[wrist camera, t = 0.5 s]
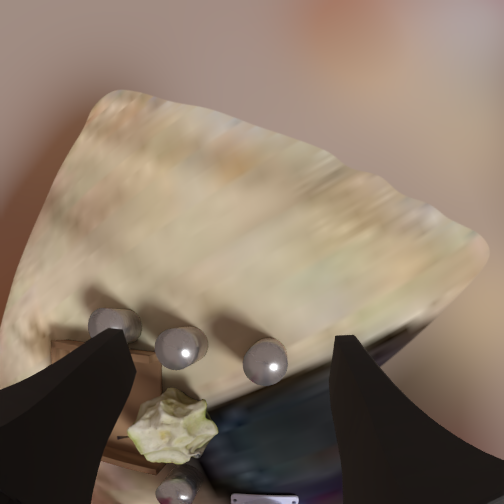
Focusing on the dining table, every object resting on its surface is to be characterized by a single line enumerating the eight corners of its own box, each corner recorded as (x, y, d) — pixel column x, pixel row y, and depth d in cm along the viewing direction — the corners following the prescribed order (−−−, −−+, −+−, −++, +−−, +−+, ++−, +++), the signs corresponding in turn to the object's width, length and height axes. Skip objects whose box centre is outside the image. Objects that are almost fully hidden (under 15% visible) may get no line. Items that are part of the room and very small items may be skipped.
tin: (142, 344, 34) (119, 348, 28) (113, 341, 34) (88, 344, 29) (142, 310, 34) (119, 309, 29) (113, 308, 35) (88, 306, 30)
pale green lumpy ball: (144, 438, 32) (108, 452, 24) (162, 373, 34) (127, 375, 27) (211, 469, 30) (187, 493, 22) (234, 401, 32) (214, 413, 25)
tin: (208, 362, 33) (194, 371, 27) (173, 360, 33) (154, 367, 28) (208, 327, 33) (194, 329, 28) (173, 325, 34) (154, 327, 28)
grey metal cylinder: (286, 374, 32) (287, 385, 26) (249, 373, 32) (242, 384, 27) (287, 337, 32) (287, 342, 27) (249, 337, 33) (243, 342, 27)
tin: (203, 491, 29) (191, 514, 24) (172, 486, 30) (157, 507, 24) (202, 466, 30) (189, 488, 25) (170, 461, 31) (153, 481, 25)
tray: (166, 463, 31) (156, 475, 27) (75, 439, 32) (61, 446, 29) (161, 352, 33) (149, 355, 30) (67, 339, 35) (51, 340, 31)
